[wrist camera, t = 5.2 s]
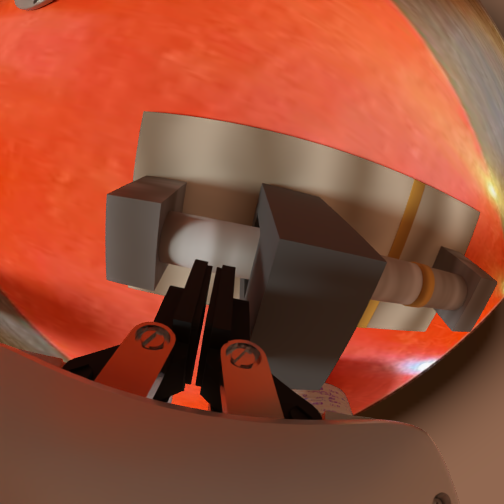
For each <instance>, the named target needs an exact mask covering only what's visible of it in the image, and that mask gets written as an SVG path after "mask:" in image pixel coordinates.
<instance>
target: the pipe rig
mask: <svg viewBox="0 0 504 504" xmlns="http://www.w3.org/2000/svg"><path fill="white" fill-rule="evenodd" d="M262 183H264V184H269V185H273V186H278V187H282V188H286V189H290V190H294V191H298V192H302V193H306V194H310V195H314V196H318V197H320V198H321V199H322V200H323V201H325V202H326V203H327V204H328V205H329V206H330V207H331V208H332V209H333V210H334V211H336V212H337V213H338V214H339V215H340V216H341V217H342V218H343V219H344V220H345V221H346V222H347V223H348V224H349V225H350V226H351V227H353V228H354V229H355V230H356V231H357V232H358V233H359V234H360V235H361V236H362V237H363V238H364V239H365V240H366V241H367V242H368V243H369V244H370V245H371V246H372V247H373V248H374V249H375V250H376V251H377V252H378V253H379V254H380V255H381V256H382V257H383V258H384V259H385V260H386V262H387V264H386V266H385V269H384V271H383V273H382V276H381V278H380V280H379V282H378V285H377V287H376V289H375V291H374V293H373V295H372V297H371V300H370V302H369V304H368V306H367V308H366V310H365V312H364V314H363V316H362V318H361V320H360V322H359V324H358V325H357V327H361V328H366V327H368V328H379V329H392V330H406V331H423V332H425V331H426V329H427V327H428V326H429V324H430V322H431V321H432V319H433V317H434V315H435V314H436V312H437V313H438V315H439V316H440V317H441V318H442V319H443V321H444V322H445V323H446V324H447V325H448V327H449V328H450V329H451V330H452V331H461V332H471V330H472V328H473V327H474V325H475V323H476V322H477V320H478V318H479V317H480V315H481V313H482V311H483V310H484V308H485V306H486V304H487V302H488V300H489V298H490V297H491V295H492V293H493V291H494V289H495V287H496V285H497V281H495V280H494V279H493V278H492V277H491V276H489V275H488V274H487V273H486V272H484V271H483V270H482V269H481V268H479V267H478V266H477V265H476V264H474V263H473V262H472V261H470V260H469V259H468V258H466V257H465V256H464V255H465V252H466V250H467V247H468V245H469V242H470V240H471V237H472V235H473V232H474V229H475V226H476V223H477V221H478V218H479V215H480V212H479V211H477V210H475V209H473V208H471V207H470V206H468V205H466V204H464V203H462V202H460V201H459V200H457V199H455V198H453V197H451V196H449V195H447V194H445V193H443V192H441V191H439V190H437V189H435V188H433V187H431V186H428V185H426V184H424V183H422V182H420V181H418V180H415V179H413V178H411V177H408V176H406V175H404V174H401V173H399V172H397V171H394V170H392V169H389V168H387V167H384V166H382V165H379V164H376V163H374V162H371V161H368V160H366V159H363V158H360V157H357V156H355V155H352V154H349V153H346V152H343V151H340V150H337V149H334V148H330V147H327V146H324V145H321V144H317V143H314V142H310V141H307V140H303V139H300V138H296V137H292V136H288V135H285V134H281V133H276V132H272V131H268V130H264V129H259V128H255V127H250V126H245V125H240V124H235V123H230V122H224V121H218V120H212V119H206V118H199V117H192V116H185V115H176V114H167V113H157V112H145V111H144V112H143V118H142V123H141V128H140V134H139V140H138V146H137V153H136V160H135V168H134V176H133V182H131V183H129V184H127V185H125V186H123V187H121V188H119V189H117V190H115V191H113V192H111V193H109V194H107V202H106V277H107V280H109V281H113V282H117V283H121V284H125V285H128V287H129V288H133V289H137V290H141V291H146V292H150V293H154V294H159V295H163V296H165V295H166V293H167V291H168V289H169V287H170V286H171V285H172V286H176V287H181V288H185V285H186V282H187V280H188V277H189V274H190V272H191V269H192V266H193V264H194V261H195V259H198V260H203V261H207V262H208V265H210V266H213V268H212V274H211V279H210V285H209V290H208V296H207V302H206V304H207V305H209V303H210V298H211V293H212V288H213V283H214V278H215V274H216V269H217V267H220V268H222V266H223V265H227V266H232V267H236V270H235V283H234V296H233V298H235V299H239V294H240V278H244V279H249V278H250V274H251V270H252V266H253V262H254V258H255V254H256V250H257V246H258V242H259V238H260V228H258V227H253V226H252V223H253V219H254V215H255V210H256V206H257V202H258V198H259V193H260V189H261V185H262Z"/></svg>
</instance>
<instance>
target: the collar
mask: <svg viewBox="0 0 504 504" xmlns="http://www.w3.org/2000/svg"><path fill="white" fill-rule="evenodd" d="M252 226H253V227H258V228H260V238H259V242H258V246H257V250H256V254H255V258H254V262H253V266H252V270H251V274H250V278H249V279H244V278H240V294H239V299H241V300H246V301H249V312H250V342H253V343H255V344H256V345H258V346H259V347H260V348H261V349H262V350H263V351H264V352H265V354H266V357H267V360H268V364H269V367H270V371H271V374H273V375H274V376H275V377H276V378H278V379H279V380H280V381H281V382H283V383H284V384H285V385H286V386H288V387H289V388H290V389H296V390H320V389H321V387H322V386H323V384H324V383H325V381H326V380H327V378H328V376H329V375H330V373H331V371H332V370H333V368H334V367H335V365H336V363H337V361H338V360H339V358H340V356H341V355H342V353H343V351H344V349H345V348H346V346H347V344H348V342H349V340H350V339H351V337H352V335H353V333H354V331H355V329H356V327H357V325H358V324H359V322H360V320H361V318H362V316H363V314H364V312H365V310H366V308H367V306H368V304H369V302H370V300H371V297H372V295H373V293H374V291H375V289H376V287H377V285H378V282H379V280H380V278H381V276H382V273H383V271H384V269H385V266H386V264H387V262H386V260H385V259H384V258H383V257H382V256H381V255H380V254H379V253H378V252H377V251H376V250H375V249H374V248H373V247H372V246H371V245H370V244H369V243H368V242H367V241H366V240H365V239H364V238H363V237H362V236H361V235H360V234H359V233H358V232H357V231H356V230H355V229H354V228H353V227H351V226H350V225H349V224H348V223H347V222H346V221H345V220H344V219H343V218H342V217H341V216H340V215H339V214H338V213H337V212H336V211H334V210H333V209H332V208H331V207H330V206H329V205H328V204H327V203H326V202H325V201H323V200H322V199H321V198H320V197H318V196H314V195H310V194H306V193H302V192H298V191H294V190H290V189H286V188H282V187H278V186H273V185H269V184H264V183H262V185H261V189H260V193H259V198H258V202H257V206H256V210H255V215H254V219H253V223H252Z"/></svg>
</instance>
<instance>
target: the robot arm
mask: <svg viewBox="0 0 504 504" xmlns="http://www.w3.org/2000/svg"><path fill="white" fill-rule="evenodd" d="M52 1H53V0H15V5H16V6H17V7H18V8H20V9H23V10H27V11H29V10H35V9H37V8H40V7H42V6H44V5H46V4H48V3H50V2H52ZM212 268H213V266H210V265H208V262H207V261H203V260H198V259H195V261H194V264H193V266H192V269H191V272H190V274H189V277H188V280H187V282H186V285H185V288H181V287H176V286H172V285H171V286H170V287H169V289H168V291H167V293H166V295H165V297H164V299H163V302H162V304H161V306H160V308H159V311H158V313H157V315H156V317H155V320H154V322H144V323H141V324H139V325H136V326H135V327H134V328H133V329H132V330H131V332H130V333H129V334H128V336H127V337H126V338H125V339H124V341H123V342H122V343H121V345H117V346H114V347H111V348H108V349H105V350H101V351H98V352H95V353H91V354H88V355H85V356H81V357H78V358H74V359H72V360H70V361H68V362H67V363H65V362H63V359H61V358H56V357H51V356H46V355H42V354H37V353H33V352H29V351H25V350H21V349H16V348H13V347H11V346H8V345H6V344H2V343H0V504H460V503H459V500H458V497H457V493H456V490H455V487H454V484H453V481H452V479H451V476H450V473H449V471H448V468H447V466H446V463H445V461H444V459H443V457H442V455H441V453H440V451H439V449H438V447H437V445H436V444H435V442H434V441H433V439H432V438H431V437H430V435H429V434H428V433H427V432H425V431H424V430H422V429H421V428H418V427H416V426H413V425H411V424H406V423H402V422H397V421H389V420H376V419H372V418H366V417H359V416H353V415H347V414H341V413H336V412H330V411H325V412H324V413H320V412H319V411H318V410H317V409H316V408H315V407H314V406H313V405H312V404H310V403H309V402H308V401H306V400H305V399H303V398H302V397H301V396H300V395H298V394H297V393H296V392H294V391H293V390H292V389H290V388H289V387H288V386H286V385H285V384H284V383H283V382H281V381H280V380H279V379H278V378H276V377H275V376H274V375H273V374H271V371H270V367H269V364H268V360H267V357H266V354H265V352H264V351H263V350H262V349H261V348H260V347H259V346H258V345H256V344H255V343H253V342H250V312H249V301H246V300H241V299H235V298H233V296H234V283H235V270H236V267H232V266H227V265H223V266H222V268H220V267H217V269H216V274H215V278H214V283H213V288H212V293H211V298H210V303H209V308H208V313H207V318H206V323H205V329H204V335H203V341H202V347H201V353H200V359H199V366H198V372H197V379H196V386H201V391H200V395H202V396H203V397H204V399H205V400H206V401H207V402H208V403H209V404H208V411H206V410H200V409H195V408H190V407H185V406H180V405H175V404H171V401H172V397H173V395H174V394H177V393H179V392H181V391H184V388H185V383H186V384H191V381H192V376H193V370H194V365H195V360H196V355H197V350H198V345H199V340H200V335H201V330H202V325H203V319H204V314H205V308H206V302H207V296H208V290H209V285H210V279H211V274H212Z"/></svg>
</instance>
